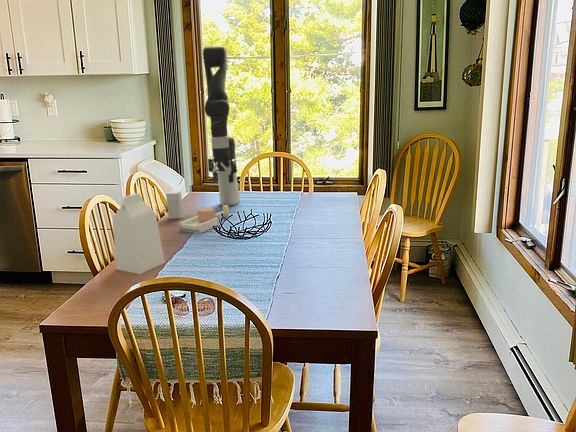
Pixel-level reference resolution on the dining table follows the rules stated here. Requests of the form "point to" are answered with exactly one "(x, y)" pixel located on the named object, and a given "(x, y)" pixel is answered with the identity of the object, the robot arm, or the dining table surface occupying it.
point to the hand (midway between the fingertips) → (223, 181)
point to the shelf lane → (198, 225)
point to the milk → (136, 236)
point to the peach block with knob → (211, 213)
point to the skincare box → (174, 204)
